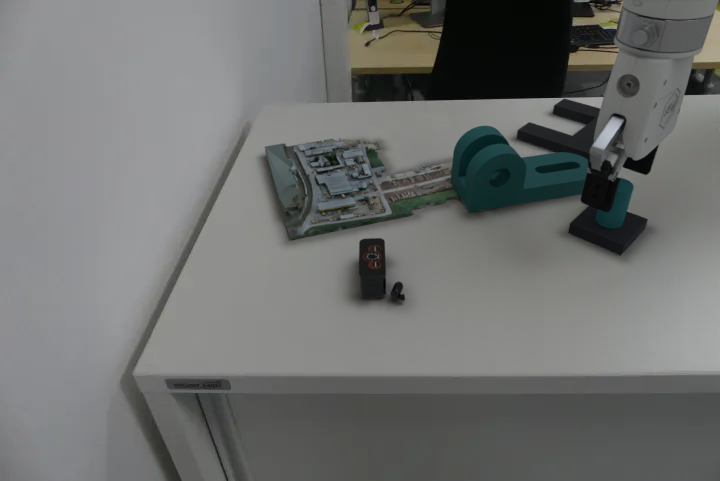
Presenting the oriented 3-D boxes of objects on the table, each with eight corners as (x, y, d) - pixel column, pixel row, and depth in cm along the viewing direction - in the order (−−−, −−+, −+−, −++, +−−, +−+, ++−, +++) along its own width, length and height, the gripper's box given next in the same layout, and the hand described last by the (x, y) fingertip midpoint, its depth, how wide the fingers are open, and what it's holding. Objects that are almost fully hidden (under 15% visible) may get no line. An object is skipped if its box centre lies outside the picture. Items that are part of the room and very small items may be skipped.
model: (518, 193, 73) (519, 182, 72) (290, 240, 67) (288, 229, 66) (453, 123, 89) (454, 113, 88) (266, 156, 84) (264, 146, 83)
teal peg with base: (592, 209, 69) (604, 163, 65) (645, 229, 66) (660, 182, 62) (567, 233, 66) (577, 186, 62) (621, 256, 62) (635, 207, 58)
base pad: (562, 106, 92) (564, 98, 91) (635, 127, 85) (638, 118, 84) (516, 138, 84) (517, 129, 83) (592, 164, 77) (594, 155, 76)
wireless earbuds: (360, 305, 58) (358, 282, 56) (360, 261, 64) (359, 238, 62) (405, 304, 58) (405, 281, 56) (401, 259, 63) (401, 237, 61)
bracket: (469, 212, 69) (476, 157, 64) (450, 181, 74) (455, 129, 69) (600, 191, 72) (617, 137, 67) (574, 163, 77) (588, 111, 72)
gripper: (666, 65, 44) (614, 237, 55) (736, 13, 54) (680, 168, 64) (577, 46, 48) (544, 208, 59) (657, 1, 58) (616, 148, 69)
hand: (615, 187), depth 62 cm, fingers open, 9 cm apart
